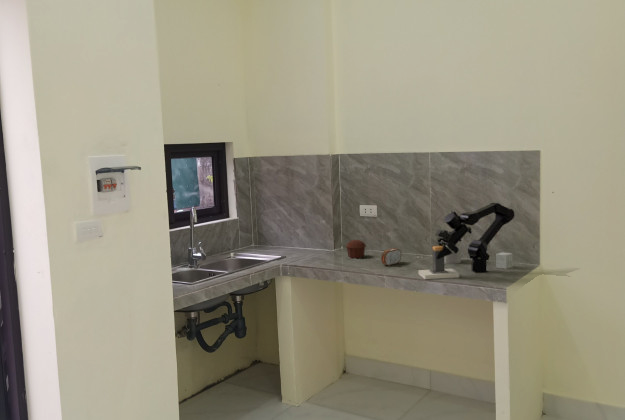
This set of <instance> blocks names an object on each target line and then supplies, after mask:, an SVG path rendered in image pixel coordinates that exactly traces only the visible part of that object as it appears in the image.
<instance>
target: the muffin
mask: <svg viewBox="0 0 625 420" xmlns="http://www.w3.org/2000/svg"><path fill="white" fill-rule="evenodd" d="M345 246H346V251H347V257H348V258H349V257H350V258H349V259H354V258H356V259H363V258H364V256H365V250H366V247H367V245H366V243H365V242H364V241H362V240H361V239H352V240H350V241H348V242H347V244H346V245H345ZM362 257H363V258H362Z"/></svg>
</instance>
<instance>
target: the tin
mask: <svg viewBox="0 0 625 420" xmlns="http://www.w3.org/2000/svg"><path fill="white" fill-rule="evenodd" d="M401 260H402V250H400V249H399V248H396V247H395V248H389V249H385V250H384V251H382V254H381V260H380V261H381V263H382V264H383V266H388V265H389V266H393V265H397V264H399V263H400V262H401Z"/></svg>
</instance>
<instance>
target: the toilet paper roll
mask: <svg viewBox="0 0 625 420" xmlns="http://www.w3.org/2000/svg"><path fill="white" fill-rule="evenodd" d="M455 246H456V247H458V248H459V251H458V252H457V253H456V254H455V253H454V252H453V251H452V253H453V254H450V255H447V256H445V257H444V265H457V264H461V263H462V240H461V241H460V242H458V243H457V244H456V245H455Z"/></svg>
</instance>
